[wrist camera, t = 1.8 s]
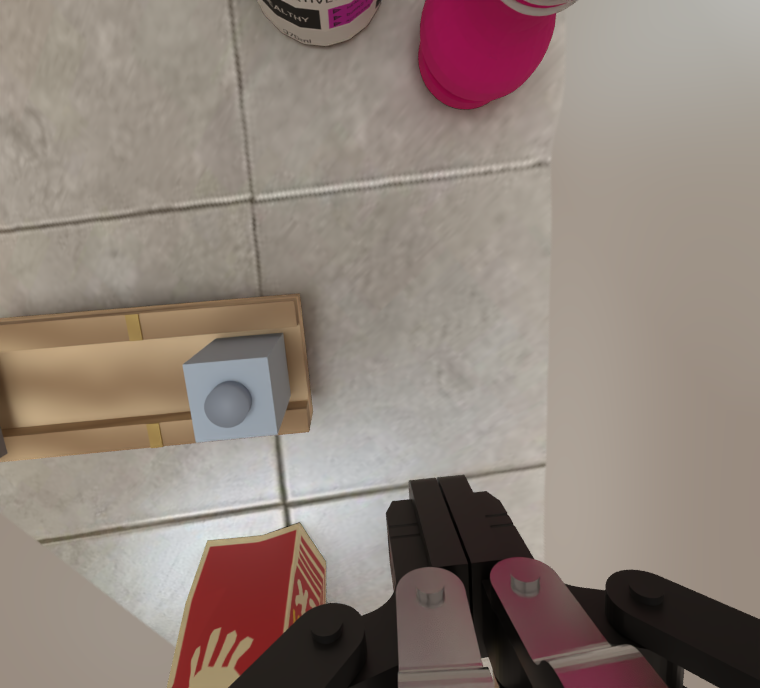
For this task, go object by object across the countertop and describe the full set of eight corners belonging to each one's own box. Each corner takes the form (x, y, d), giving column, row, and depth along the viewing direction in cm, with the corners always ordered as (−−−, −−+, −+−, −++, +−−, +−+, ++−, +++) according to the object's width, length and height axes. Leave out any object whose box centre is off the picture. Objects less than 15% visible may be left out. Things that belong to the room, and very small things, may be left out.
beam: (7, 312, 32) (-137, 345, 23) (303, 288, 34) (286, 309, 24) (36, 424, 34) (-87, 499, 25) (315, 398, 35) (304, 459, 26)
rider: (215, 338, 29) (175, 370, 22) (283, 332, 29) (263, 362, 22) (225, 401, 29) (189, 451, 23) (290, 395, 30) (274, 443, 23)
